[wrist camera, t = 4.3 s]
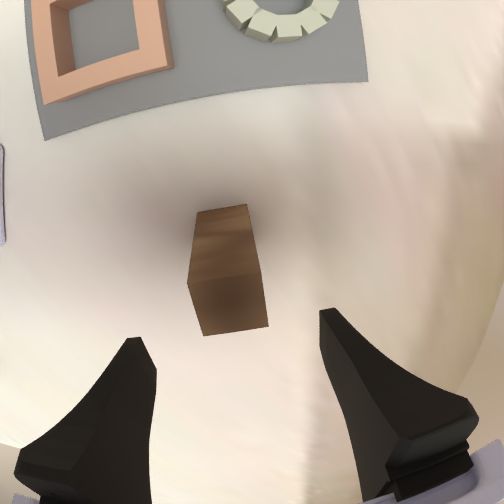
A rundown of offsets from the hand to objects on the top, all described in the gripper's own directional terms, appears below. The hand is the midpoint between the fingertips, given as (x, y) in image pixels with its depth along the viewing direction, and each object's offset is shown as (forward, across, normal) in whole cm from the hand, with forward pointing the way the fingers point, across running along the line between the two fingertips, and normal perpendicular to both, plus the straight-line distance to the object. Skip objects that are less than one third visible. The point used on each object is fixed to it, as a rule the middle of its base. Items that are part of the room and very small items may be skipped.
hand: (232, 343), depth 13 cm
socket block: (+10, 0, -14) cm, 18 cm away
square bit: (+10, 0, 0) cm, 10 cm away
